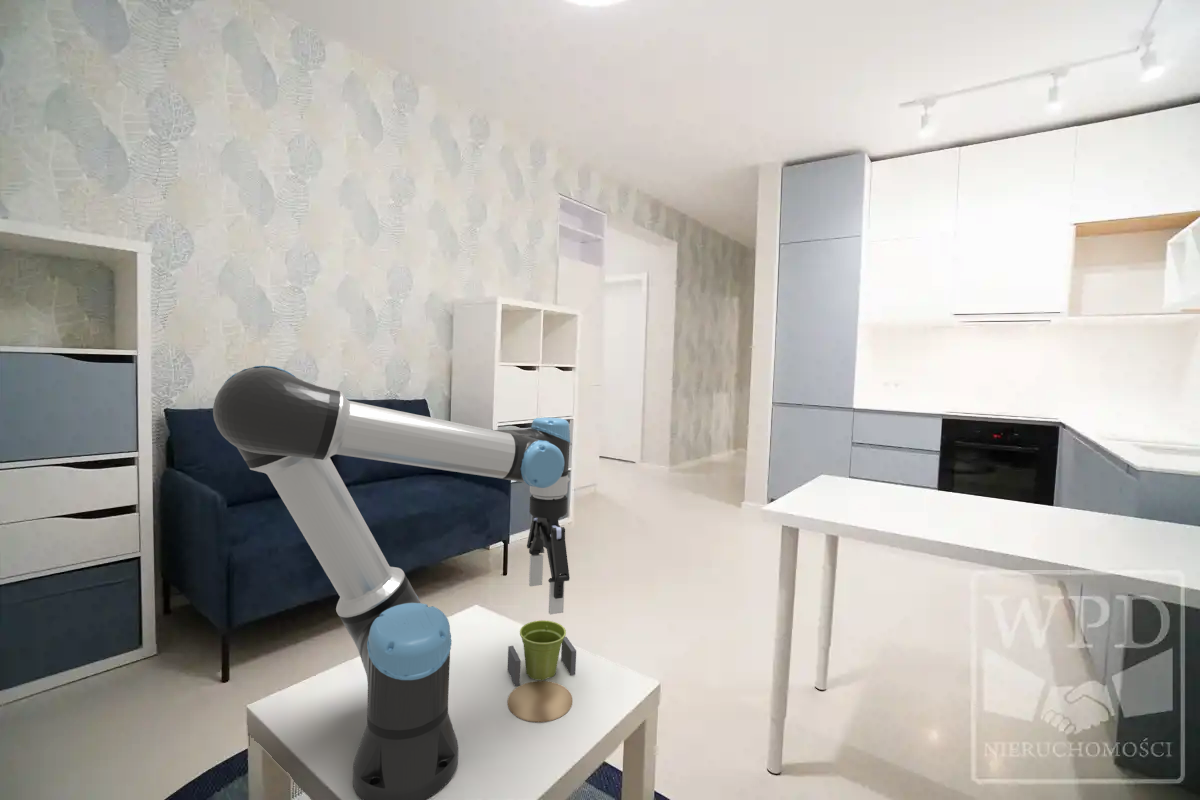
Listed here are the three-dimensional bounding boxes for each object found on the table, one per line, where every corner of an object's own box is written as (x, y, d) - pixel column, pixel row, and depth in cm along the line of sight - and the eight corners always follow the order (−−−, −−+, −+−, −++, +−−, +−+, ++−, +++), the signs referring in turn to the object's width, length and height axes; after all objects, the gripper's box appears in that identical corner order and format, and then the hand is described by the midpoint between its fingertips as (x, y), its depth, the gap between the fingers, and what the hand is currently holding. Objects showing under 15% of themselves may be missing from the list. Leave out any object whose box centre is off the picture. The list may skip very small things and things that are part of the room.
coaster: (516, 728, 92) (517, 727, 92) (501, 689, 103) (501, 687, 103) (581, 713, 96) (581, 712, 96) (560, 677, 107) (560, 676, 107)
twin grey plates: (514, 686, 104) (515, 661, 103) (507, 670, 109) (508, 646, 109) (575, 674, 109) (576, 650, 108) (565, 659, 114) (566, 636, 114)
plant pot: (567, 662, 113) (569, 622, 113) (559, 688, 104) (561, 645, 103) (524, 657, 114) (525, 618, 114) (512, 683, 105) (514, 640, 104)
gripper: (589, 509, 97) (585, 623, 98) (547, 480, 120) (544, 573, 121) (550, 512, 94) (546, 629, 95) (514, 482, 117) (511, 577, 118)
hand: (545, 598), depth 108 cm, fingers open, 13 cm apart
